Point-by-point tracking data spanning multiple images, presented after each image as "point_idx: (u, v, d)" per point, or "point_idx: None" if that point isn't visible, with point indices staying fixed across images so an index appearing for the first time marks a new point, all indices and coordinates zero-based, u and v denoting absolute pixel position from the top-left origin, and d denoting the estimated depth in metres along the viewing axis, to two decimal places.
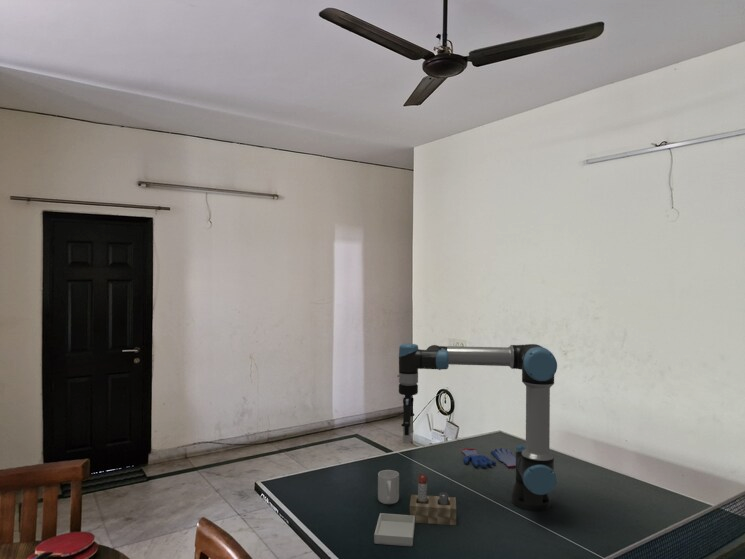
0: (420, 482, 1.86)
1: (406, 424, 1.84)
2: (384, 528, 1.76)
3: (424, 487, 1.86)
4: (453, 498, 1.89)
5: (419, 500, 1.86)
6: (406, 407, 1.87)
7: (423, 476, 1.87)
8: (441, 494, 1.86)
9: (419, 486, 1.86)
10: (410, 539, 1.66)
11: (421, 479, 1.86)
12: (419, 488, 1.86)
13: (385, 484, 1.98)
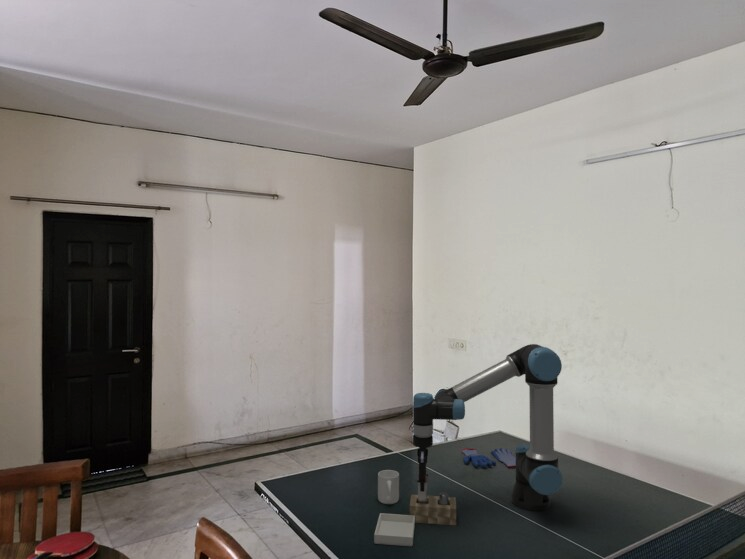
0: None
1: (422, 481, 1.82)
2: (384, 528, 1.76)
3: None
4: (453, 498, 1.89)
5: (419, 500, 1.86)
6: (421, 465, 1.82)
7: None
8: (441, 494, 1.86)
9: None
10: (410, 539, 1.66)
11: None
12: None
13: (385, 484, 1.98)
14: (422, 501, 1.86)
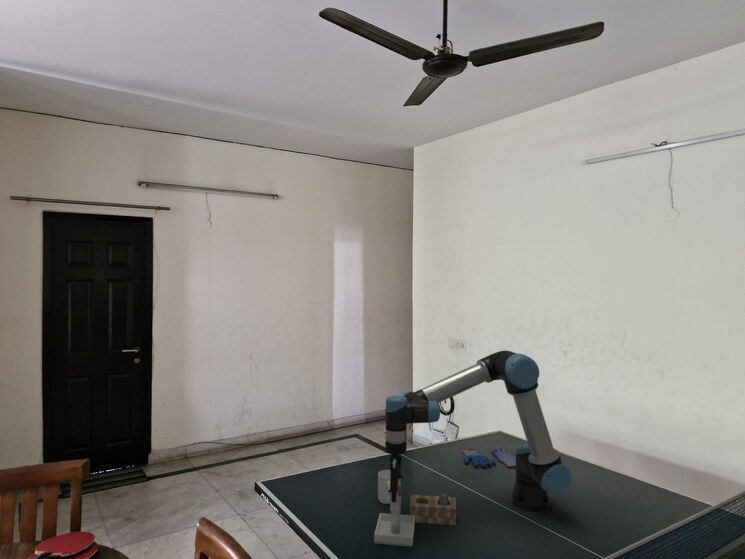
0: None
1: (393, 491, 1.66)
2: (384, 528, 1.76)
3: (398, 499, 1.73)
4: (453, 498, 1.89)
5: (392, 513, 1.74)
6: (393, 471, 1.68)
7: None
8: (441, 494, 1.86)
9: None
10: (410, 539, 1.66)
11: None
12: None
13: (385, 484, 1.98)
14: (395, 514, 1.73)
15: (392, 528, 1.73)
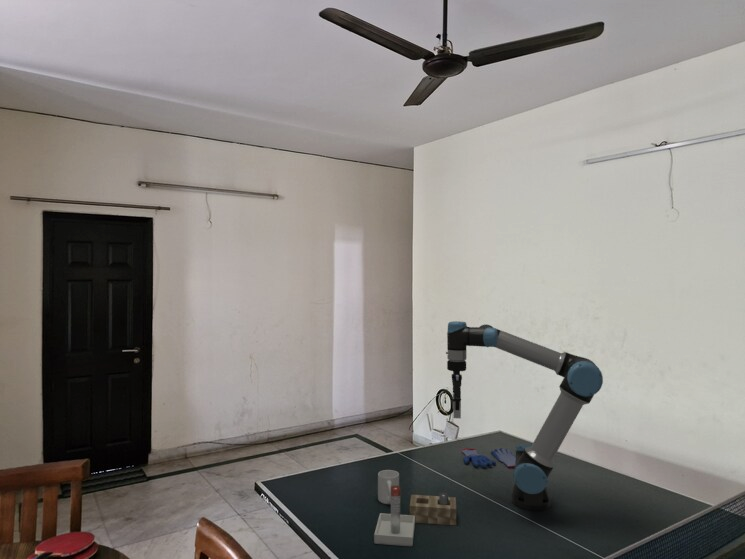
0: (393, 494, 1.73)
1: (457, 399, 1.87)
2: (384, 528, 1.76)
3: (397, 500, 1.73)
4: (453, 498, 1.89)
5: (392, 514, 1.73)
6: (456, 382, 1.90)
7: (396, 488, 1.74)
8: (441, 494, 1.86)
9: (392, 499, 1.74)
10: (410, 539, 1.66)
11: (393, 492, 1.73)
12: (392, 501, 1.74)
13: (385, 484, 1.98)
14: (395, 515, 1.73)
15: (392, 528, 1.73)
